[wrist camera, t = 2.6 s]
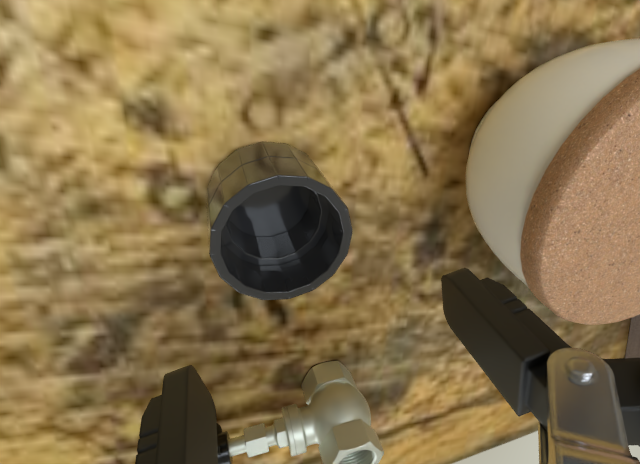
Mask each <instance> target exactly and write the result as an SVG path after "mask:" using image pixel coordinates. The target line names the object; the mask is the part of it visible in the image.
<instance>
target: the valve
mask: <svg viewBox="0 0 640 464" xmlns="http://www.w3.org/2000/svg"><path fill="white" fill-rule="evenodd" d="M301 387H302V390H303V394H304V398H305V401H306V404H308V406H305V407H302V408H298V407H297V405H296V404H293V405H289V406H286V407H282V414H283V418H280V419H277V420H274V424H273V425H272V426H269V427H266V428H265V426H264V423H262V424H259V425H255V426H252V427H248V428H245V429H244V435H242V436H239V437H235V438H232V439H230V438H229V434H228V432H227V431H226V432H222V429H221V427H220V425H219V424H218V423H217V448H218V464H232V456H234V455H238V454H241V453H245V452H247V455H248V457H252V456H256V455H259V454H262V453H266V452H269V448H268V447H270V446H274V445H277V446H278V447H279V448H283V447H286V446H289V449H290V453H291V456H295V455H298V454H302V453H305V452H306V447H307V446H308V445H312V444H315V443H317V444H319V445H320V446H319V447H318V448H319V451H320V455H321V458H322V462H323V464H378V463H379V461H380V460H381V458H382V456H383V454H384V451H383V448H382V446H381V444H380V441H379V439H378V436H377V434H376V432H375V430H374V429H373V428H372V427H371V414H370V409H369V406H368V403H367V401H366V399H365V398H364V396H363V395H362V394H361V392H360V391H359V390H358V389H357V387H356V384H355V382H354V380H353V377H352V375H351V373H350V372H349V370H348V369H347V368H346V367H345V366H344V365H343V364H342V363H340V362H339V361H329V362H324V363H321V364H318V365H316V366H314V367H312V368H311V369H310V370H309V372H308V373H307V375H306V377H305V378H304V380H303V383H302V385H301Z"/></svg>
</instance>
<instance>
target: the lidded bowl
mask: <svg viewBox="0 0 640 464" xmlns="http://www.w3.org/2000/svg"><path fill="white" fill-rule="evenodd" d="M466 194H467V200H468V205H469V209H470V212H471V214H472V217H473V219H474V222H475V224H476V226H477V229H478V231H479V232H480V234H481V235H482V237H483V238H484V240H485V241H486V243H487V244H488V246H489V247H490V248H491V250H492V251H493V252H494V253H495V255H496V256H497V257H498V258H499V259H500V260H501V262H502V263H503V264H504V265H505V266H506V267H507V268H508V269H509V270H510V271H511V272H512V273H513V274H514V275H515V276H516V277H518V278H519V279H520V280H521V281H522V282H523V283H525V284H526V285H527V286H528V287H529V288H530V290H531V291H532V292H533V294H534V295H535V296H536V297H537V299H539V300H540V301H541V302H542V303H543V304H544V305H545V306H547V307H548V308H549V309H550V310H551V311H553V312H554V313H555V314H556V315H558V316H559V317H561V318H563V319H566V320H568V321H570V322H576V323H581V324H587V325H592V324H607V323H613V322H619V321H622V320H625V319H628V318H632V317H634V316H637V315H639V314H640V38H636V39H626V40H618V41H611V42H606V43H600V44H595V45H589V46H586V47H583V48H580V49H577V50H574V51H571V52H569V53H566V54H563V55H560V56H558V57H556V58H554V59H552V60H550V61H548V62H546V63H544V64H542V65H540V66H539V67H537V68H536V69H534V70H532V71H531V72H530V73H528V74H527V75H525V76H524V77H522V78H521V79H520V80H518V81H517V82H516V83H515V84H514V85H513V86H512V87H510V88H509V89H508V90H507V91H506V92H505V93H504V94H503V95H502V97H501V98H500V99H499V100H497V101H496V102H495V103H494V104H493V105H492V107H491V108H490V109H489V110H488V111H487V113H486V114H485V115H484V117H483V118H482V120H481V122H480V123H479V125H478V127H477V129H476V131H475V134H474V136H473V139H472V142H471V146H470V151H469V157H468V161H467V168H466Z"/></svg>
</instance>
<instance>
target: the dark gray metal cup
mask: <svg viewBox="0 0 640 464" xmlns="http://www.w3.org/2000/svg"><path fill="white" fill-rule="evenodd" d="M207 220H208V237H209V254H210V257H211V259H212V261H213V264H214V266H215V268H216V270H217V272H218V274H219V276H220V277H221V278H222V279H223V280H224V281H225V282H226V283H228V284H229V285H230V286H231V287H233V288H234V289H235V290H236V291H238V292H240V293H241V294H245V295H248V296H251V297H255V298H258V299H261V300H278V299H291V298H293V297H296V296H299V295H302V294H304V293H307V292H310V291H313V290H314V289H316V288H317V287H318V286H320V285H321V284H322V283H324V282H325V281H326V280H328V279H329V278H330V277H331V276H333V274H335V272H336V271H337V269H338V268H339V266H340V265H341V263H342V262H343V260H344V259H345V257H346V256H347V254H348V249H349V245H350V241H351V236H352V226H351V221H350V216H349V212H348V208H347V206H346V205H345V204H344V202H343V201H342V200H341V198H340V197H339V196H338V194H337V193H336V192H335V190H334V189H333V187H332V186H331V185H330V183H329V182H328V181H327V179H326V178H325V177H324V175H323V174H322V173H321V171H320V170H319V169H318V168H317V166H316V165H315V164H314V163H313V161H312V160H311V159H310V157H309V156H308V155H307V154H306V153H304V152H302V151H300V150H298V149H296V148H294V147H292V146H290V145H288V144H285V143H274V142H259V143H256V144H252V145H249V146H246V147H243V148H240V149H238V150H236V151H234V152H233V153H232V154H231V155H230V156H228V157H227V158H226V159H225V160H224V161H222V162H221V163H220V164H219V166H218V167H217V169H216V170H215V172H214V174H213V176H212V178H211V180H210V182H209V184H208V188H207Z"/></svg>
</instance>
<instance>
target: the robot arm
mask: <svg viewBox="0 0 640 464" xmlns="http://www.w3.org/2000/svg"><path fill="white" fill-rule="evenodd" d="M441 282H442V296H443V310H444V315H445V318H446V320H447V322H448V324H449V326H450V328H451V329H452V330H453V332H454V333H455V334H456V336H457V337H458V338H459V340H460V341H461V342H462V343H463V345H464V346H465V347H466V349H467V350H468V351H469V353H470V354H471V355H472V356H473V358H474V359H475V360H476V362H477V363H478V364H479V366H480V367H481V368H482V370H483V371H484V372H485V373H486V375H487V376H488V377H489V379H490V380H491V381H492V383H493V384H494V385H495V386H496V388H497V389H498V390H499V392H500V393H501V394H502V396H503V397H504V398H505V399H506V401H507V402H508V403H509V405H510V406H511V407H512V409H513V410H514V411H515V413H516V414H517V415H518V416H521V415H524V414H526V413H529V412H532V413H533V414H534V416H535V417H536V418H537V419H538V421H539V422H538V434H539V464H640V462H639V460H638V459H637V458H636V457H632V455H631V453H630V451H629V447H628V445H639V446H640V357H638V358H622V359H602V358H600V357H599V356H597V355H595V354H594V353H591V352H589V351H586V350H583V349H579V348H572V347H570V346H569V345H568V344H566V343H565V342H564V341H563V340H562V339H561V338H560V337H559V336H558V335H557V334H556V333H555V332H554V331H552V330H551V329H550V328H549V327H548V326H547V325H546V324H545V323H544V322H543V321H542V320H541V319H540V318H539V317H537V316H536V315H535V314H534V313H533V312H532V311H531V310H530V309H527V307H526V305H525V304H524V303H522V302H521V301H520V300H519V299H517V298H516V296H515V295H514V294H513V293H512V292H511V291H510V290H508V289H507V288H506V287H505V286H504V285H502V284H500V283H498V282H496V281H494V280H491V279H489V278H485V279H482V280H479V279H478V278H477V277H476V276H475V275H474V274H473V273H472V272H471V271H470V270H469V269H467V268H463V269H460V270H457V271H454V272H452V273H449V274H446V275H443V276H442V279H441ZM139 436H140V439H139V441H138V448H137V452H138V455H136V462H135V464H218V448H217V421H216V410H215V405H214V402H213V399H212V396H211V394H210V393H209V391H208V389H207V388H206V386H205V384H204V383H203V381H202V380H201V378H200V376H199V375H198V373H197V371H196V370H195V368H194V367H193V366H192V365H189V366H186V367H184V368H181V369H178V370H175V371H173V372H170V373H167V374H165V376H164V379H163V389H162V395H160V396H157V397H155V398H152V399H151V400H150V402H149V404H148V406H147V408H146V410H145V412H144V414H143V416H142V420H141V427H140V434H139Z"/></svg>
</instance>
